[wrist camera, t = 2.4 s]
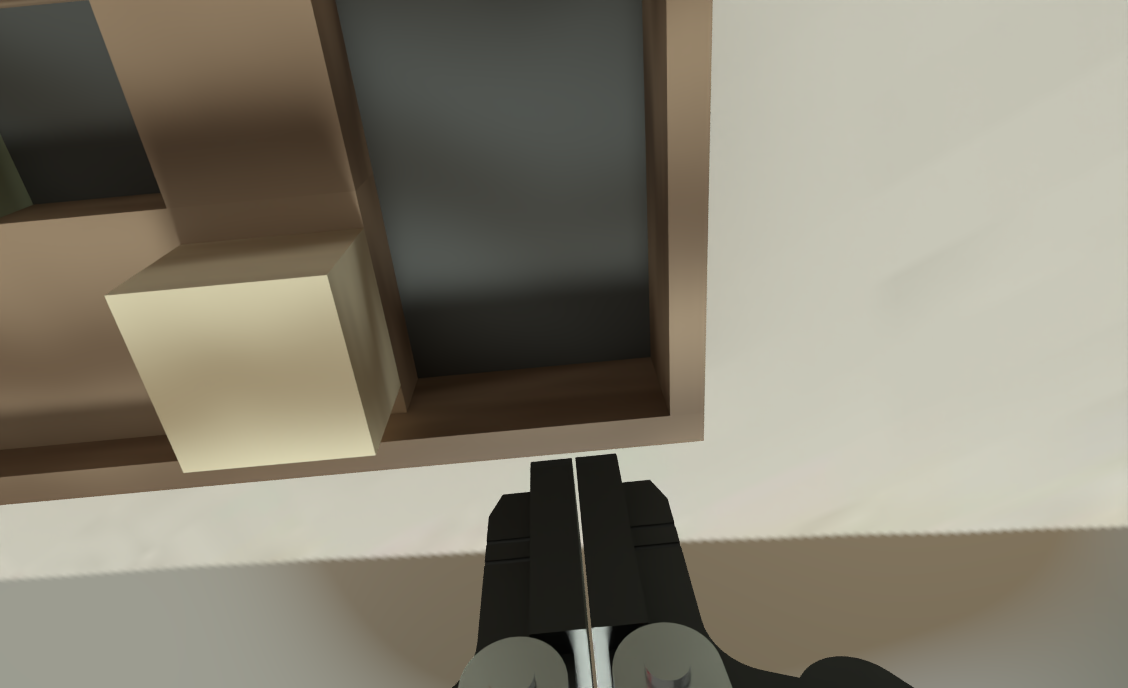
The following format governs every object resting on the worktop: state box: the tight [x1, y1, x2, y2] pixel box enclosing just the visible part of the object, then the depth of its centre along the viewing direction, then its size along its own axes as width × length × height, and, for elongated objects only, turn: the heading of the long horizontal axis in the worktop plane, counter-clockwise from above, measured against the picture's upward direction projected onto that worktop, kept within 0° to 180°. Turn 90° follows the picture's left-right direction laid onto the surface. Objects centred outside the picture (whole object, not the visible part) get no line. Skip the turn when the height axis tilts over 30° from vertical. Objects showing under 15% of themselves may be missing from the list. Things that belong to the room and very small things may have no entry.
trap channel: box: [0, 0, 713, 505], centre depth 18 cm, size 14×26×4 cm, turn 95°
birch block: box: [104, 228, 401, 473], centre depth 17 cm, size 5×5×4 cm
